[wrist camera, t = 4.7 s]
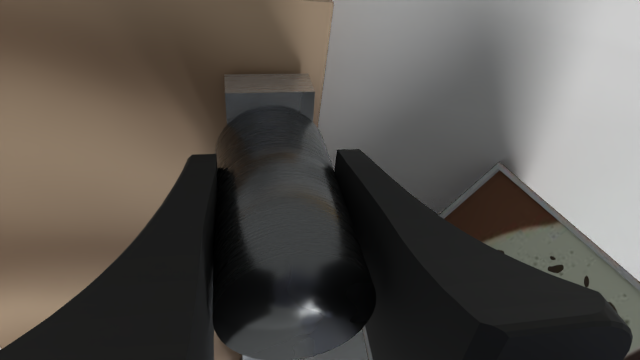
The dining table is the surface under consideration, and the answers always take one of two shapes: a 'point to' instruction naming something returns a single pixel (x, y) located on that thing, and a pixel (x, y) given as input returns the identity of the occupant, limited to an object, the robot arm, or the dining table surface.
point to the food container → (542, 242)
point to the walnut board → (119, 124)
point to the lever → (282, 228)
